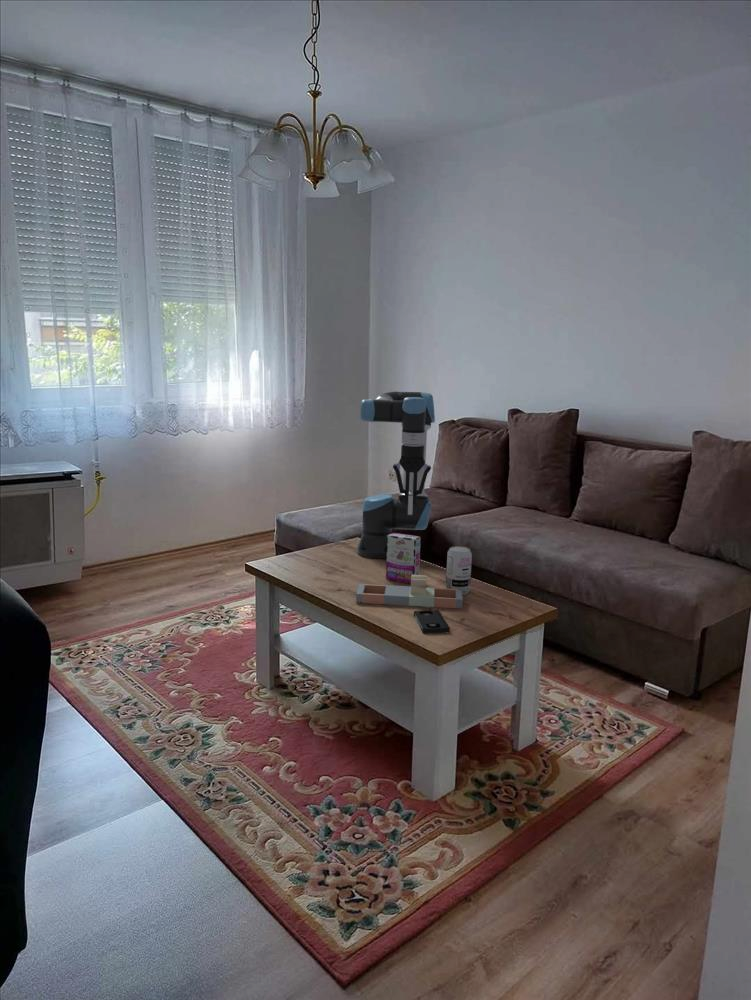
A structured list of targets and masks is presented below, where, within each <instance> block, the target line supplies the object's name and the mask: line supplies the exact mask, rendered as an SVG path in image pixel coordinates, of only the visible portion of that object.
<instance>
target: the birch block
mask: <svg viewBox="0 0 751 1000" xmlns="http://www.w3.org/2000/svg"><path fill="white" fill-rule="evenodd" d="M427 580H428V576H427V575H423V574H421V575H420V574H419V575H411V584H410V587H411V591H410V594H413V595H426V587H427Z"/></svg>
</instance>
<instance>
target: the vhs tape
mask: <svg viewBox="0 0 751 1000" xmlns="http://www.w3.org/2000/svg"><path fill="white" fill-rule="evenodd" d="M413 618H414V619H415V621H416V623H417V625H418V627H419V629H420V631H421V633H422V634H447V633H446V632H449V633H450V630H451V629H450V626H449V624H448V622H446V620H445V618H444V616H443V615H442V613H441V611H440V610H439V609H434V610H431V609H430V610H413ZM443 632H444V633H443Z"/></svg>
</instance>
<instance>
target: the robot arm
mask: <svg viewBox="0 0 751 1000" xmlns="http://www.w3.org/2000/svg"><path fill="white" fill-rule="evenodd" d="M435 418H436V417H435V403H434V397H433V395H432V393H428V392H422V391H389V392H384V393H381V394H378V395H376V396H375V397H373V398H370V399H362V401H361V402H360V419H361V421H362V422H369V423H399V424H401V429H402V430H401V443H402V445H401V449H400V459H399V461H398V462H397V463H393V464H392V469H393V470H394V472H395V474H396V480H397V484H398V490H399V494H398V498H397V499H394V497H393V495H390V494H387V493H386V494H385V493H383V494H375V495H370V496H368V497H366V498H365V499H364V500H363V503H362V527H361V529H362V531H361V532H362V533H361V536H360V539H359V542H358V545H357V551H356V552H357V554H358V555H359V556H361V557H364V558H368V559H387V535H389V534H391V533H393V532H392V531H393V530H409V531H411V530H412V531H419V530H420V531H423V530H426V529H427V527H428V524H429V519H430V513H431V509H432V508H431V507H432V501H431V500H430V499H428V498H429V495H428V494H427V493H426V491H425V486H426V485H425V483H426V479H427V477H428V474H429V472H430V471H431V469H432V467H431V465H428V464H427V463H426V461H427V439H428V438H427V436H428V430H430V429H431V428H432V424H434V423H435V420H436V419H435ZM401 467H402V470H403V474H402V475H401V470H400V469H401ZM402 477H403V478H402Z"/></svg>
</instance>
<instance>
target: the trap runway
mask: <svg viewBox="0 0 751 1000" xmlns="http://www.w3.org/2000/svg"><path fill="white" fill-rule="evenodd" d="M357 587H358V588H357V590H356V594H355V603H356V602H358V603H357V604H373V605H374V604H375V605H392V606H409V607H410V606H412V607H429V608H446V609H461V610H463V603H464V602H463V601H464V599H463V595H462V589H447V588H446V587H445V588H444V587H427V586H426V595H413V594H410V591H411V585H409V586H408V585H406V586H405V585H393V584H391V585H389V584H373V583H371V584H369V583H368V584H367V583H359V584H358V586H357ZM360 602H361V603H360Z"/></svg>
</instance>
